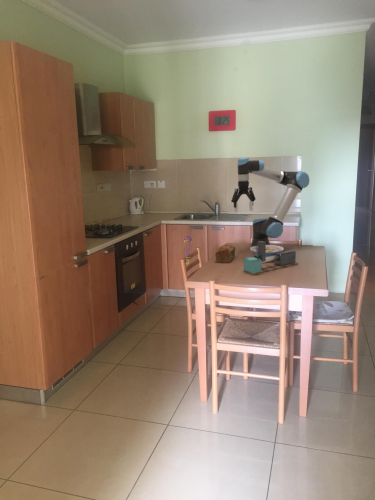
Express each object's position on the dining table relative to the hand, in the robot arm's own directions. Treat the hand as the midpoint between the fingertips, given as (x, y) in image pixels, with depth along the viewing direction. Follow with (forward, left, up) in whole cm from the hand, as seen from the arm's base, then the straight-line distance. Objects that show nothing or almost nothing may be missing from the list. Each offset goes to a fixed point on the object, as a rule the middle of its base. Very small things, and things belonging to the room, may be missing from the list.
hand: (243, 211), depth 276 cm
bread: (+18, +1, -32) cm, 37 cm away
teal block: (+26, +38, -31) cm, 55 cm away
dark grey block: (-1, +38, -31) cm, 49 cm away
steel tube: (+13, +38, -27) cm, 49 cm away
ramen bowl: (-5, +18, -32) cm, 37 cm away
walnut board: (+10, +38, -32) cm, 51 cm away
